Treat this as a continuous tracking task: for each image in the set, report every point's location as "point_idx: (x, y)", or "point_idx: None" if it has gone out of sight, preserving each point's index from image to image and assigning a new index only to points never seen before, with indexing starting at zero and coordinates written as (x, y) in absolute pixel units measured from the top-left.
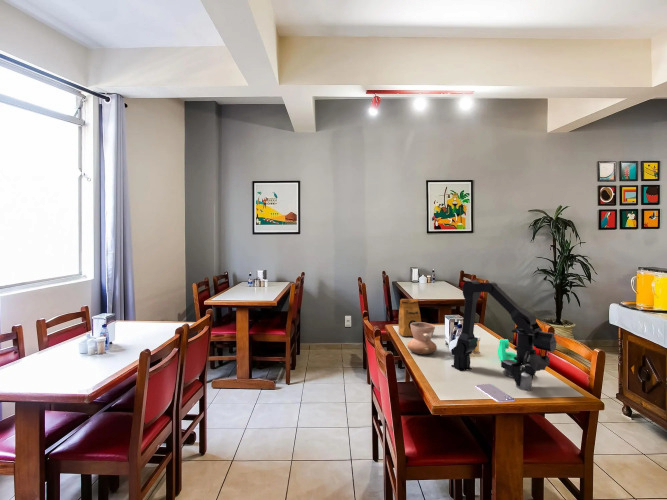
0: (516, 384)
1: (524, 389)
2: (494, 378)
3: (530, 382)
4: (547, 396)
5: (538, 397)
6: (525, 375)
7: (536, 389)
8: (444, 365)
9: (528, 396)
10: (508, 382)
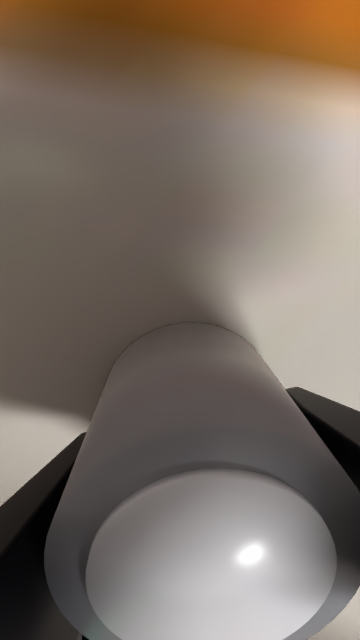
0: None
1: (238, 335)
2: None
3: (154, 373)
4: (47, 83)
5: (215, 71)
6: (221, 533)
7: (60, 336)
8: None
9: (335, 134)
10: None
